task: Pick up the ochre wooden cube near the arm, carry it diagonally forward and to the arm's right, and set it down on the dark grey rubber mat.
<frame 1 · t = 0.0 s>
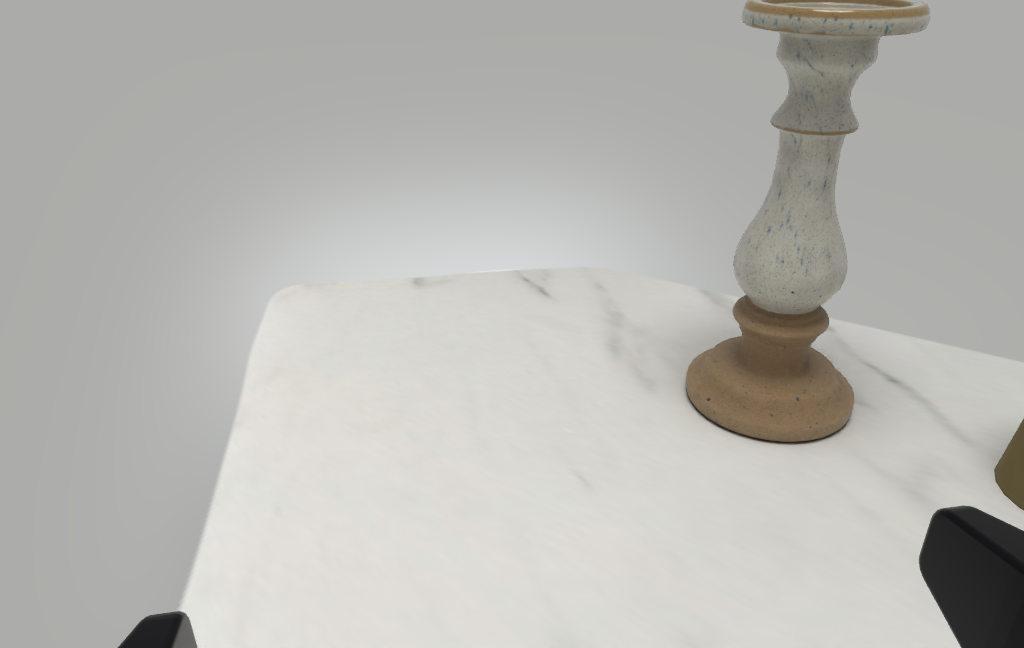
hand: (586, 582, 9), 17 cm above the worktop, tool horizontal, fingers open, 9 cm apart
candle holder: (765, 400, 43), on the worktop
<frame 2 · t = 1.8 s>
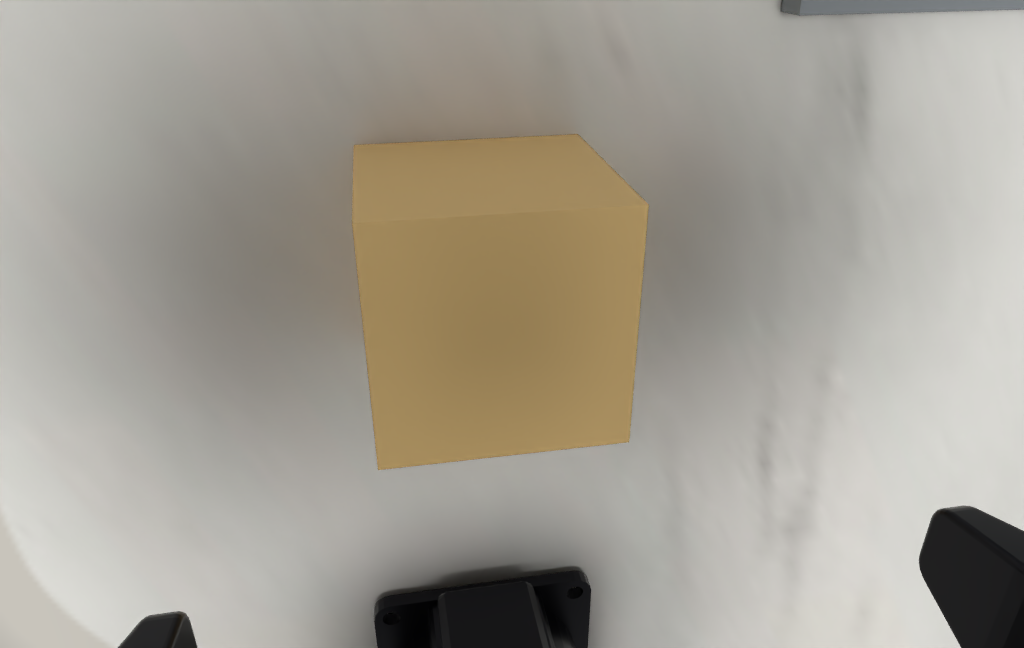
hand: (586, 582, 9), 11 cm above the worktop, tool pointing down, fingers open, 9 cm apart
ochre cube: (470, 243, 18), on the worktop
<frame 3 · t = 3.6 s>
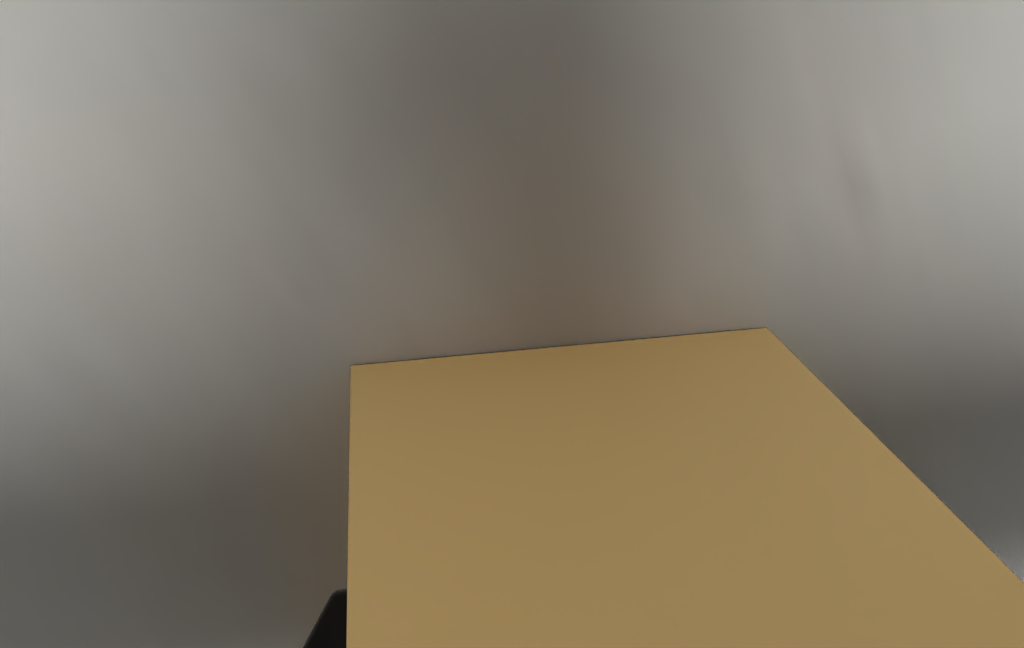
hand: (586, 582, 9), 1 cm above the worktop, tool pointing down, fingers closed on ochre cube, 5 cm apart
ochre cube: (562, 511, 10), on the worktop, touching gripper
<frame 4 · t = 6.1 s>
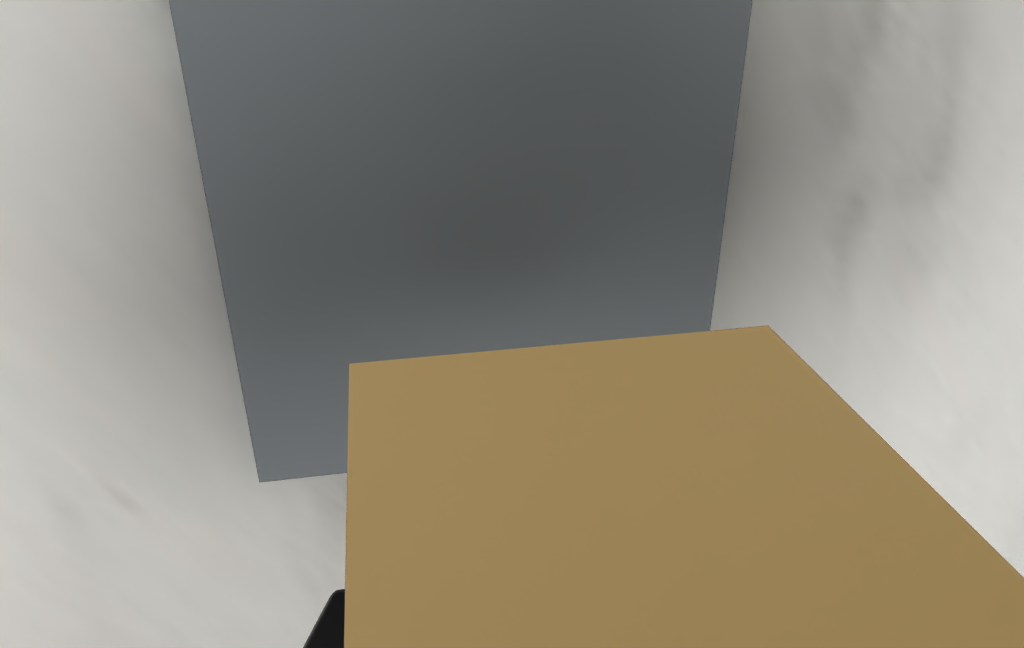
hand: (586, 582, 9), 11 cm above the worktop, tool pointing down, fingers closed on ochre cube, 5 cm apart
ochre cube: (562, 510, 10), point 10 cm above the worktop, touching gripper
grey mat: (479, 239, 19), on the worktop
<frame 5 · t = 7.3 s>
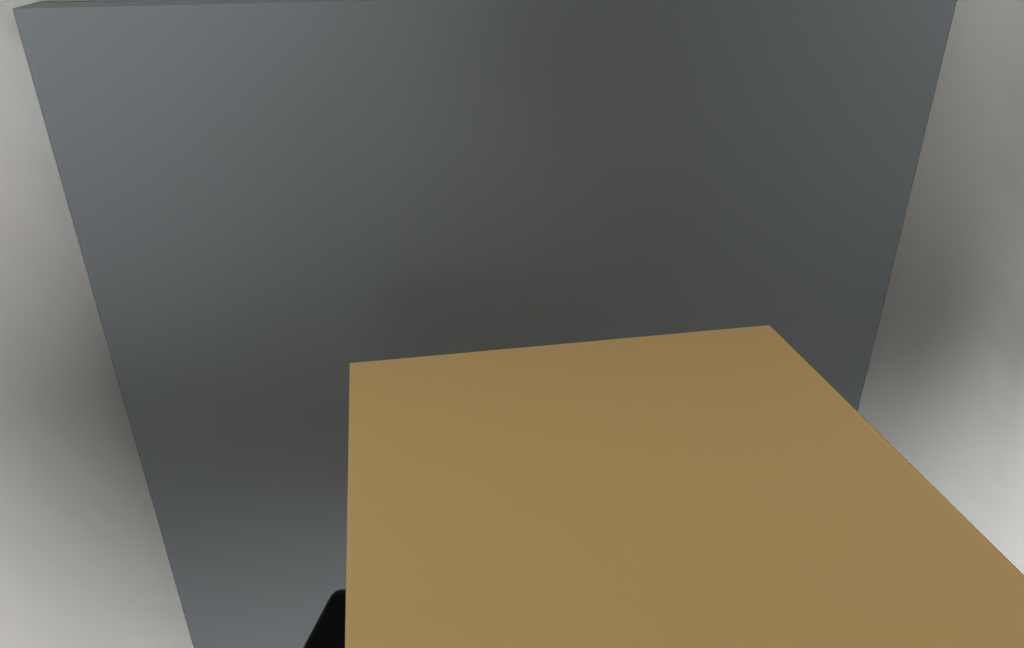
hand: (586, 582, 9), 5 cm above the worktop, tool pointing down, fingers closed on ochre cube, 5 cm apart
ochre cube: (562, 509, 10), point 3 cm above the worktop, touching gripper
grey mat: (519, 374, 13), on the worktop
when the fingers open (3 cm above the worktop, at t = 8.5 s): ochre cube stays where it is, resting on grey mat.
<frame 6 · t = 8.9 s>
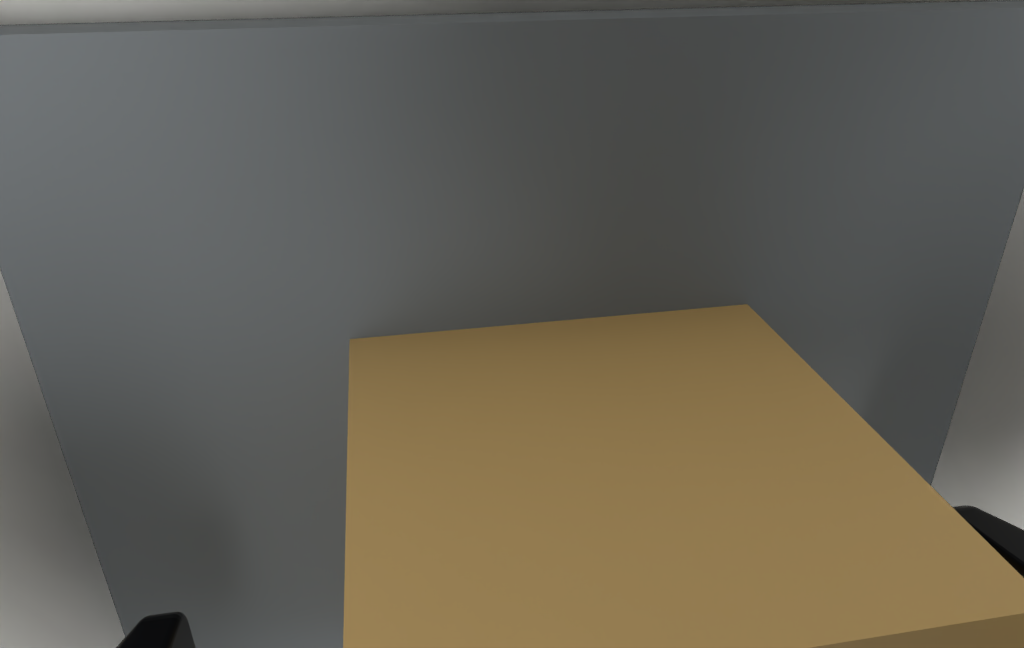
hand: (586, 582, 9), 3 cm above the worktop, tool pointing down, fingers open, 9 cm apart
ochre cube: (552, 481, 11), point 1 cm above the worktop, touching grey mat
grey mat: (543, 448, 11), on the worktop
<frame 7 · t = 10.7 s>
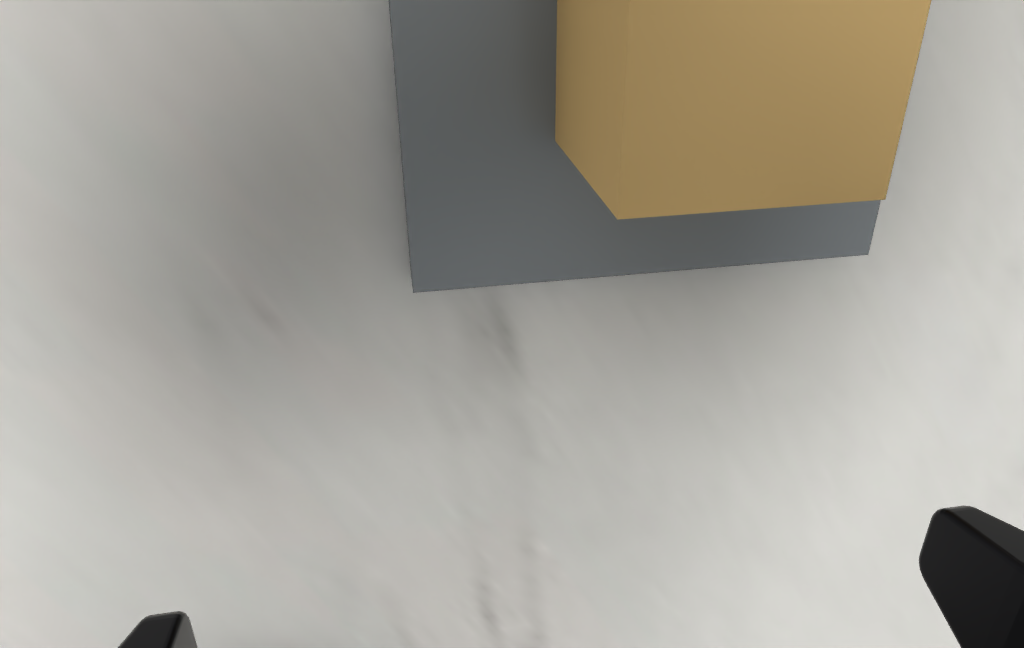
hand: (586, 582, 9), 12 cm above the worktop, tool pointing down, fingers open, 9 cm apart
ochre cube: (669, 19, 17), point 1 cm above the worktop, touching grey mat
grey mat: (659, 16, 17), on the worktop
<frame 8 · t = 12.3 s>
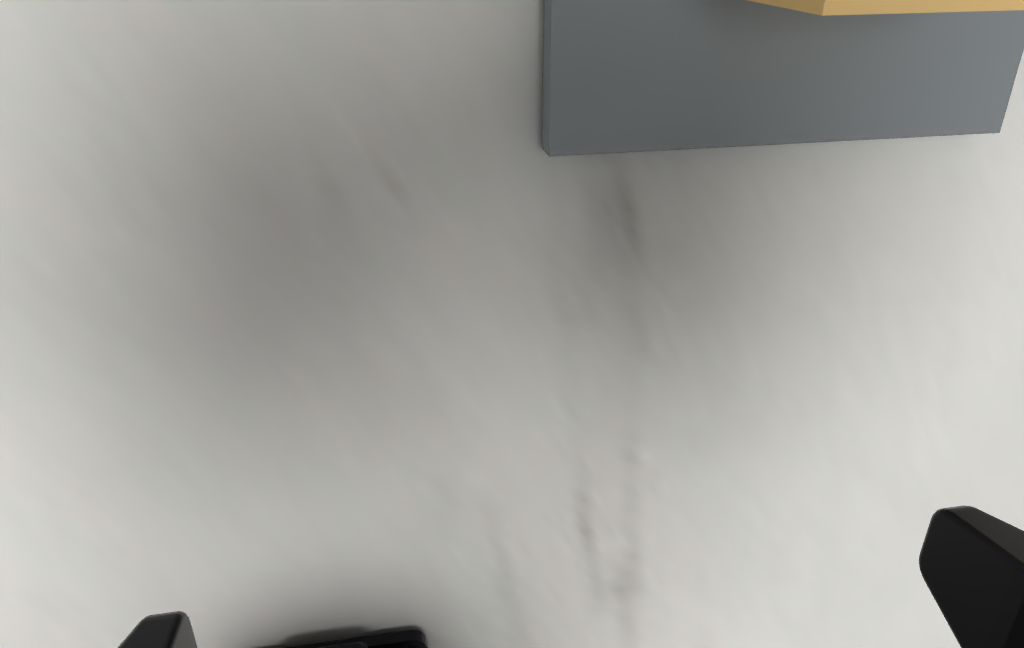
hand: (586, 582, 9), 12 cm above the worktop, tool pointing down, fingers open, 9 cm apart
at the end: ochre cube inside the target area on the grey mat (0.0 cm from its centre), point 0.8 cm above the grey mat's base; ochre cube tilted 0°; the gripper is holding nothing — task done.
